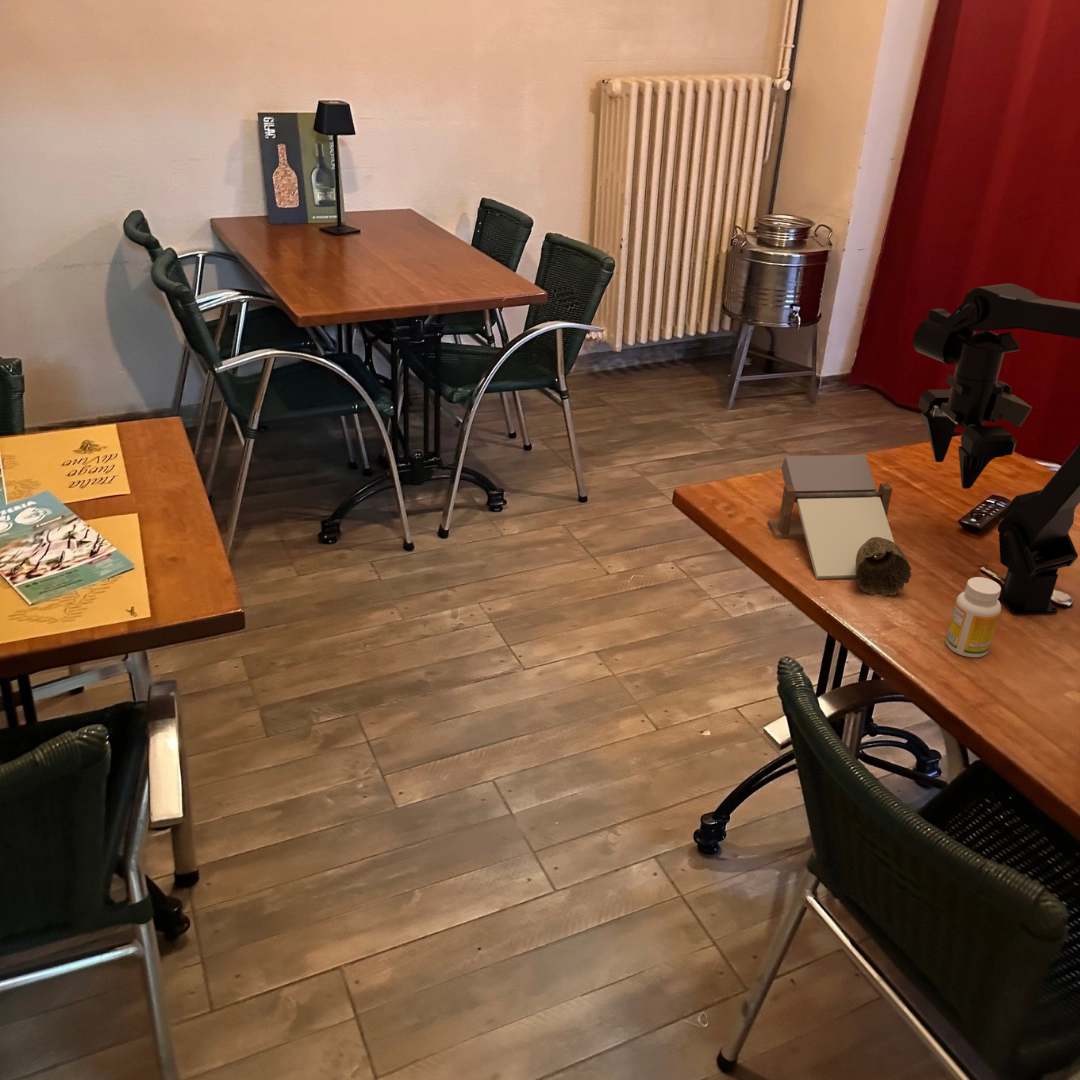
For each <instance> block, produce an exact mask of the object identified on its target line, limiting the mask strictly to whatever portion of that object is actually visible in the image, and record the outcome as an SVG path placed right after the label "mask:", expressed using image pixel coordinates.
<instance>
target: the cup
mask: <svg viewBox="0 0 1080 1080" xmlns="http://www.w3.org/2000/svg"><path fill="white" fill-rule="evenodd" d="M911 571H912V567H911V566H910V563H909V561H908V559H907V557H906V556H905V554H904V553H903V551H902V550H901V548H900V547H899V545H897V544H896V543H895V541H894V542H892V541H890V540H888V539H883V538H881V537H872V538H870V539H868V540H867V541H866V542H865V543H864V544H863V545H862V546H861V547H860V549H859V550H858V553H857V556H856V578H855V579H856V582H857V584H858V585H859V588H860V589H861V591H862V592H864V593H868V595H870V596H874V595H875V593H877V594H882V596H883V597H887V596H888V595H890V596H895V595H896V594H897V593H898V590H904V588H905V584H909V583H910V578H912V572H911Z"/></svg>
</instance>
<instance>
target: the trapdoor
mask: <svg viewBox="0 0 1080 1080" xmlns="http://www.w3.org/2000/svg"><path fill="white" fill-rule="evenodd" d="M780 469H781V473H782V478H783V481H784V485H792V486H793V487H794V489H795V490H796V493H832V492H877V488H876V484H875V482H874V478H873V476H872V475H873V474H872V472H871V468H870V465H869V462H868V459H867V456H866V454H833V455H831V454H827V455H826V454H825V455H824V454H823V455H785V457H784V459H783V461H782V465H781V467H780ZM794 504H796V505H797V511H798V514H799V517H800V518H799V519H801V522H802V526H803V530H804V534H805V538H804V539H805V541H806V545H807V550H808V554H809V556H810V560H811V564H812V565H811V566H812V568H813V574H814V576H815V580H823V579H824V580H825V579H826V580H827V579H828V580H830V579H856V556H857V553H858V550H859V549H860V547H861V546H862V545H863V544H864V543H865V542H866V541H867V540H868V539H870V538H872V537H881V538H883V539H888V540H890V541H892V542H894V543H895V541H894V537H893V534H892V530H891V527H890V525H889V521H888V519H887V517H886V514H885V511H884V508H883V505H882V502H881V499H880V497H839V498H795V499H794Z"/></svg>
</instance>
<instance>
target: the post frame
mask: <svg viewBox="0 0 1080 1080" xmlns="http://www.w3.org/2000/svg"><path fill="white" fill-rule="evenodd" d="M878 486H879V487H878V490H876V491H875V492H832V493H796V490H795V489H794V487H793V486H792V485H785V484H784V486H783V492H782V498H781V499H782V500H781V504H780V505H781V507H780V512H779V519H777V518H775V519H773V518H772V519H767V522H766V524H767V526H768V525H769V526H768V528H769V527H770V528H769V530H770V529H771V530H770V531H771V533H772V532H773V533H772V535H773V534H774V535H775V537H774V538H775V539H776V538H780V539H779V540H782V539H781V538H786V540H787V538H788V539H789V538H793V539H795V538H796V539H806V538H805V534H804V530H803V526H802V522H801V518H793V513H794V512H793V510H794V504H795V503H794V499H795V498H839V497H880V499H881V502H882V505H883V508H884V511H885V514H886V518H887V516H888V512H889V507H890V502H891V496H892V492H893V488H892V486H891V485H890V484H889V483H888V482H880V483H879V485H878ZM774 535H773V536H774ZM793 539H792V540H793Z"/></svg>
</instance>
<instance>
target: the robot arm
mask: <svg viewBox="0 0 1080 1080" xmlns="http://www.w3.org/2000/svg"><path fill="white" fill-rule="evenodd" d="M1011 329H1012V330H1013V329H1014V330H1015V329H1024V330H1028V331H1034V332H1039V333H1040V332H1041V333H1045V334H1050V335H1051V334H1052V335H1056V336H1057V335H1058V336H1062V337H1068V338H1073V339H1079V340H1080V302H1079V303H1078V302H1071V301H1065V300H1058V299H1051V298H1044V297H1041V296H1039V295H1036V294H1035V293H1034V292H1033V291H1032V290H1030V289H1028V288H1025V287H1023V286H1020V285H1017V284H1016V283H1001V284H993V285H986V286H979V287H973V288H971V289H970V290H969V292H967V294H966V295H965V297H964V298H963V301H962V303H961V304H960V305H959V306H958V307H957V308H956V309H955V310H954V311H953V312H952V313H950V312H949V311H948V310H946V309H943V308H935V309H934V308H933V309H930V310H929V311H928V316H927V318H925V319H924V320H922V322H920V324H919V325H918V327H917V328H916V331H914V332H913V337H912V345H913V349H914V350H915V351H916V352H918V353H919V354H922V355H924V356H927V357H929V358H931V359H934V360H935V361H939V362H942V363H943V364H946V365H954V364H956V365H955V370H954V375H947V377H946V384H947V385H949V386H950V389H926V390H925V392H923V393H922V394H921V395H919V400H918V406H917V407H918V408H919V409H920V410H921V412H920V413H921V416H922V418H923V422H924V425H925V429H926V431H927V435H928V439H929V441H930V446H931V449H932V453H933V457H934V461H935V462H936V463H943V462H944V460H945V457H946V456H947V453H948V451H949V447H950V444H951V442H952V439H953V436H954V433H955V430H956V428H958V427H959V426H960V427H961V428H962V429H964V431H962V432H961V436H960V444H961V445H960V446H959V445H958V447H957V448H958V460H959V461H958V462H959V472H960V473H959V474H960V482H961V487H962V489H964V490H970V489H971V488H972V486H973V485H975V483H976V481H977V479H978V478H979V477H980V475H981V474H982V472H983V471H984V470H985V468H986V467H987V466H988V465H989V463H990V462H991V461H993V460H994V459H996V458H1003V457H1006V456H1012V455H1013V454H1014V452H1015V449H1016V446H1017V439H1016V438H1015V437H1014V436H1013V435H1012V434H1011V433H1010V432H1008V430H1006V429H1005V428H1004V427H1002V425H985V422H988V423H998V421H999V419H1000V420H1003V421H1006V422H1008V423H1011V424H1013V425H1014V427H1016V428H1017V427H1018V428H1020V427H1022V425H1023V423H1024V422H1025V420H1026V419H1027V417H1028V416H1029V414H1030V412H1031V411H1032V409H1033V406H1031V405H1030V404H1028V403H1027V402H1025V401H1024V400H1023V399H1021V398H1019V397H1017V396H1016V395H1015V394H1012V390H1013V388H1012V386H1010V385H1009V384H1008V383H1006V382H1003V381H1001V380H998V378H999V375H1000V373H1001V367H1002V363H1003V360H1004V355H1005V354H1007V353H1013V352H1019V351H1020V350H1021V346H1020V344H1019V342H1018V341H1017V340H1016V339H1015V338H1014V336H1013V333H1012V332H1010V331H1008V332H1007V331H1006V332H1002V333H1001V332H1000V333H995V332H993V331H998V330H1011ZM977 331H979V332H977ZM1079 504H1080V443H1079V444H1077V447H1075V449H1074V450H1073V451H1072V452H1071V454H1070V455H1069V456H1068V457H1067V459H1066V460H1065V461H1064V462H1063V463H1062V464H1061V466H1060V467H1059V468H1058V470H1057V471H1056V472H1055V473H1054V475H1052V476H1051V478H1050V479H1049V480H1048V482H1047V483H1046V484H1045V485H1044V487H1043V488H1042V489H1039V490H1035V491H1031V492H1026V493H1022V494H1018V495H1015V496H1014V498H1013V499H1012V501H1010V504H1009V506H1008V507H1007V509H1006V510H1005V511H1004V512H1002V513H1000V514H999V517H1001V520H1000V521H999V523H998V525H997V532H998V540H999V541H998V542H999V561H1000V564H1001V565H1003V566H1004V567H1006V568H1007V572H1006V574H1005V575H1006V576H1005V579H1004V583H1003V586H1000V587H1001V591H1000V596H999V598H998V599H999V601H1001V603H1002V604H1003V605H1004V606H1005V607H1006V609H1007V610H1009V611H1010V613H1011V614H1013V615H1018V616H1019V615H1020V616H1021V615H1023V616H1024V615H1051V614H1057V613H1058V612H1059V610H1058V608H1057V607H1056V606H1055V604H1053V602H1051V601H1052V597H1053V594H1054V591H1055V587H1056V584H1057V581H1058V578H1059V575H1058V571H1059V569H1062V568H1065V567H1071V566H1072V565H1073V564H1074V563H1075V561H1076V560H1077V559H1078V558H1079V554H1078V552H1077V550H1076V547H1075V546H1074V544H1073V540H1072V538H1071V536H1070V534H1069V532H1070V529H1071V528H1072V526H1073V525H1074V522H1075V510H1076V507H1077V506H1078V505H1079Z"/></svg>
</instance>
